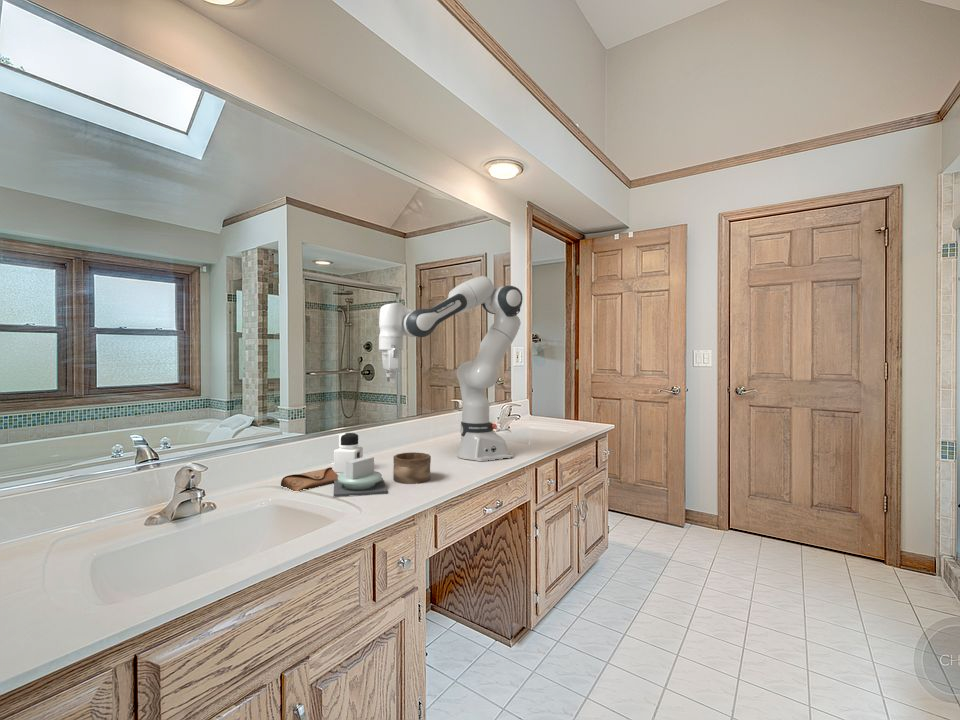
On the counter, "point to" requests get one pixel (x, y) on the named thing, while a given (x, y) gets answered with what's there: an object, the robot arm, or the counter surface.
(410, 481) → the canister
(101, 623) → the counter surface
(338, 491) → the mat
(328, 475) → the sunglasses case
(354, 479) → the lid
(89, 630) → the counter surface
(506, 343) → the robot arm
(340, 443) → the container
